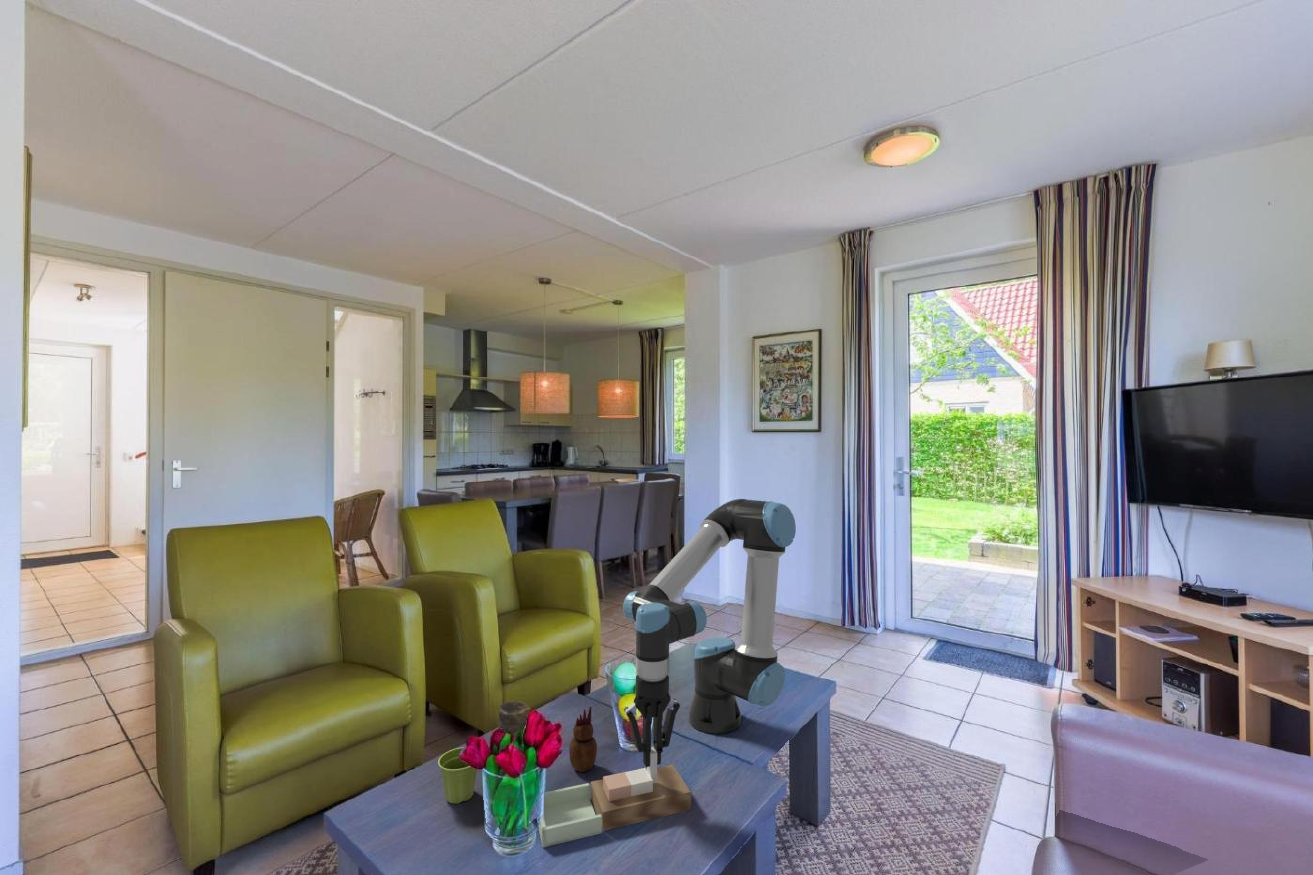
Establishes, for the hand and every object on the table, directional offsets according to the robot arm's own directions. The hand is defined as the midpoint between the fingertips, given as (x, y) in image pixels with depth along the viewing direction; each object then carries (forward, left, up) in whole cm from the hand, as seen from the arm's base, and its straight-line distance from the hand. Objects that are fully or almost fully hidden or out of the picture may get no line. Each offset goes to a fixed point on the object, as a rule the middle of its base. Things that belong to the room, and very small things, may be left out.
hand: (652, 778), depth 128 cm
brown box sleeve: (+3, 0, -5) cm, 6 cm away
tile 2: (+3, 0, -1) cm, 3 cm away
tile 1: (+8, 0, -1) cm, 8 cm away
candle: (+29, -14, -6) cm, 32 cm away
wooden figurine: (+12, -18, -6) cm, 22 cm away
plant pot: (+41, -17, -6) cm, 45 cm away
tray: (+19, 0, -5) cm, 20 cm away
